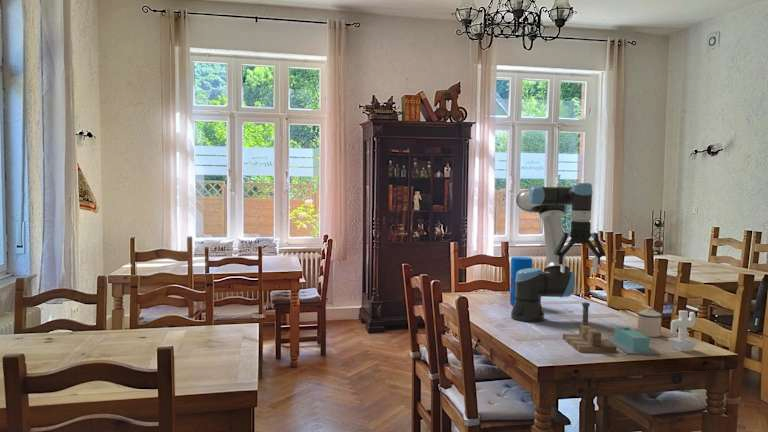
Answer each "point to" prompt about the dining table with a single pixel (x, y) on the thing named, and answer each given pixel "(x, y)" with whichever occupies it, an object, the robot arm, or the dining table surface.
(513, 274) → the tall blue block
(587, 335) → the wooden stand with peg
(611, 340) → the rubber mat
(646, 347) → the mint green knobbed block
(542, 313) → the robot arm
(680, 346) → the figurine
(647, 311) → the teacup with lid
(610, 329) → the dining table surface
